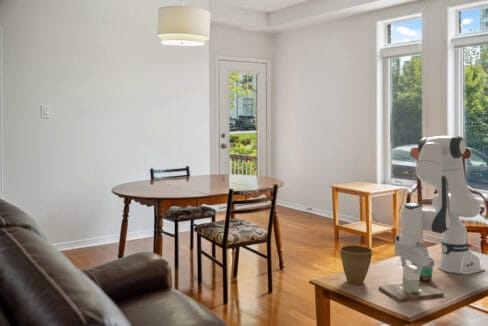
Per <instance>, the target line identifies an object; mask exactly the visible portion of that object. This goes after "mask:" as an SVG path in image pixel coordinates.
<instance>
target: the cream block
mask: <svg viewBox="0 0 488 326" xmlns="http://www.w3.org/2000/svg"><path fill="white" fill-rule="evenodd" d="M415 270H417V267H416V266H414V265H412V264H407V266H403V267H402V278H403V277H404V278H406V279H408V280H418V279H420V274H416V273H415Z"/></svg>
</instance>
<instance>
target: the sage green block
mask: <svg viewBox="0 0 488 326" xmlns="http://www.w3.org/2000/svg"><path fill="white" fill-rule="evenodd" d="M402 283H403V284H402V288H404V289H406V290H407V291H409V292H410V291H418V290H419V279H418V280H408V279H406V278H404V277H403V276H402Z"/></svg>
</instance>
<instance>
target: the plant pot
mask: <svg viewBox="0 0 488 326" xmlns="http://www.w3.org/2000/svg"><path fill="white" fill-rule="evenodd" d="M339 249H340V259H341V264H342V269H343V272H344V275H345V276H344V277H345V279H346V281H347V283H348V284H351V285H362V284H364V282H365V280H366V277H367V274H368V272H369V268H370V265H371V261H372V255H373V249H372V248H370V247H368V246H363V245H353V244H352V245H342V246H341V247H340V248H339Z"/></svg>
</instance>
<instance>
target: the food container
mask: <svg viewBox="0 0 488 326" xmlns="http://www.w3.org/2000/svg"><path fill="white" fill-rule="evenodd" d="M411 265H414V266H416V267H417V264H415V263H412V262H411ZM434 266H435V260H434V259H433V258H432V257H430V256H429V265H428V266H425V267H422V269H421V274H420V279H419V281H421V282H423V283H425V284H427V283H431V282H432V277H433V270H434Z"/></svg>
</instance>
